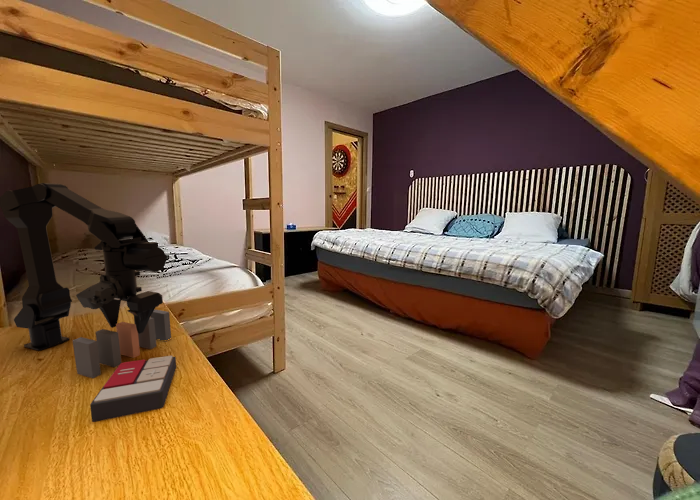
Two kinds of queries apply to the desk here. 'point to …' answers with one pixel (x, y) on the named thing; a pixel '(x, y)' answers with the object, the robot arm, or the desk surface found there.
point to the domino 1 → (86, 357)
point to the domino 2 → (108, 348)
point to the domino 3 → (128, 339)
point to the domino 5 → (162, 324)
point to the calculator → (134, 388)
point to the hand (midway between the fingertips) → (126, 330)
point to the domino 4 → (148, 335)
